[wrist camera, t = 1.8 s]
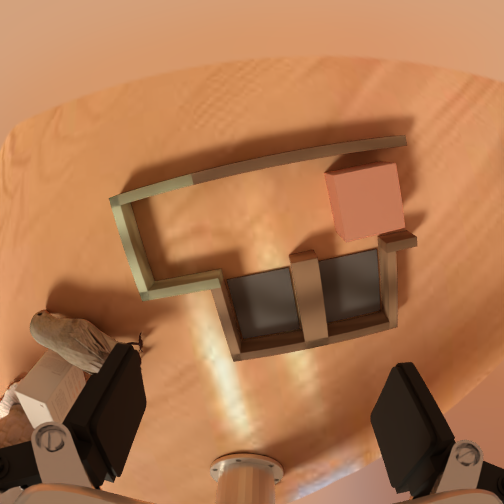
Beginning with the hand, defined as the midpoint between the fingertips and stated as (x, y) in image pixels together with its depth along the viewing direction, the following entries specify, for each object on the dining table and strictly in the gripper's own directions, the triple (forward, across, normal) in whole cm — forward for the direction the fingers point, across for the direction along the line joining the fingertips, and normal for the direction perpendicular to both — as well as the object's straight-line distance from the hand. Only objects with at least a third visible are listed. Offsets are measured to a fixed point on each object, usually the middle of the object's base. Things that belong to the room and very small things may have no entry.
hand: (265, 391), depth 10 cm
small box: (+21, +26, +23) cm, 41 cm away
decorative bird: (+22, +20, +15) cm, 33 cm away
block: (+22, -9, -4) cm, 24 cm away
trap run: (+21, -2, +3) cm, 22 cm away
